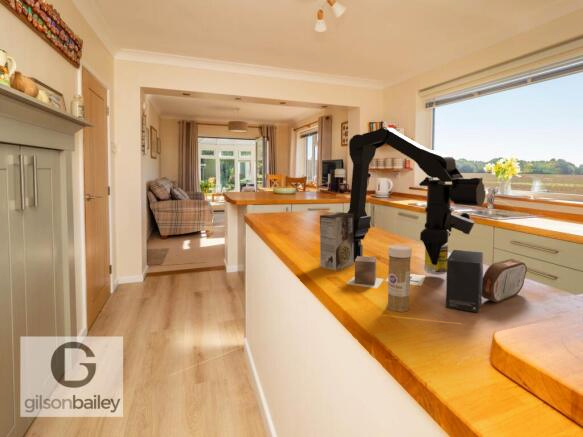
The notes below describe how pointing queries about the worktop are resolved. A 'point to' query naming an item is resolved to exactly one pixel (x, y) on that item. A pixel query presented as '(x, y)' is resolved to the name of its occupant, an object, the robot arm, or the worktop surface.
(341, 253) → the coffee box
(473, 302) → the small box
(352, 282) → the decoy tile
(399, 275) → the sprinkles bottle
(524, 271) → the tin
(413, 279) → the label tile
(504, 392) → the worktop surface
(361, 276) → the walnut block
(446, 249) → the supplement bottle
